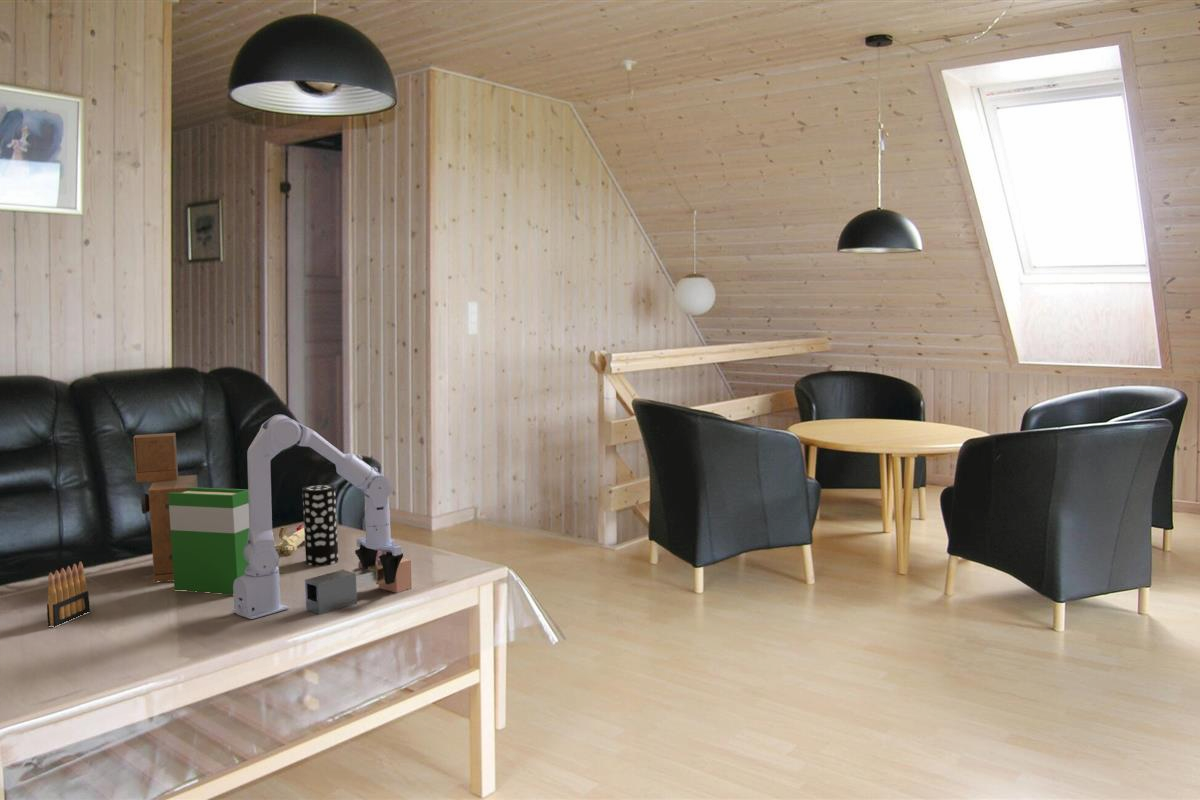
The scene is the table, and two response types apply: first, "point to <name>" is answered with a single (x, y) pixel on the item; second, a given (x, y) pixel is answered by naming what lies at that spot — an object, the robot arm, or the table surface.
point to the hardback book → (208, 538)
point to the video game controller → (376, 558)
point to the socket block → (400, 577)
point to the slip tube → (370, 576)
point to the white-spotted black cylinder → (320, 525)
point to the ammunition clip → (67, 595)
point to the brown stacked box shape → (160, 493)
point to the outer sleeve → (330, 591)
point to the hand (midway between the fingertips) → (380, 580)
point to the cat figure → (290, 540)
